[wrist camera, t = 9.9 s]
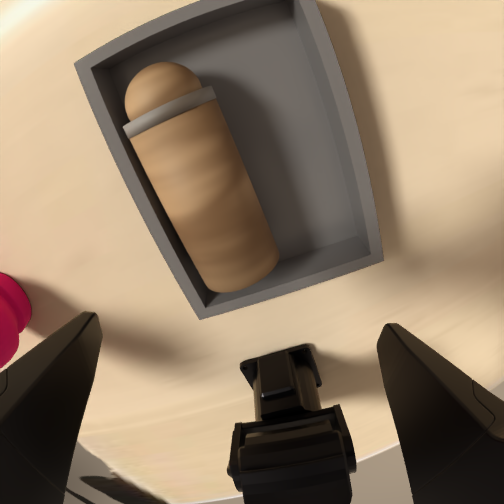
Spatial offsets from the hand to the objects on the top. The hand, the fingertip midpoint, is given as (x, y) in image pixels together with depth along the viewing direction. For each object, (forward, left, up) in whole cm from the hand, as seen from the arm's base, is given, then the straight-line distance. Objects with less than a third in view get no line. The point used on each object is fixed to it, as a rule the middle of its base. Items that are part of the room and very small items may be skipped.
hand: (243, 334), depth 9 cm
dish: (+3, -1, -13) cm, 13 cm away
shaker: (-3, +1, -10) cm, 10 cm away
